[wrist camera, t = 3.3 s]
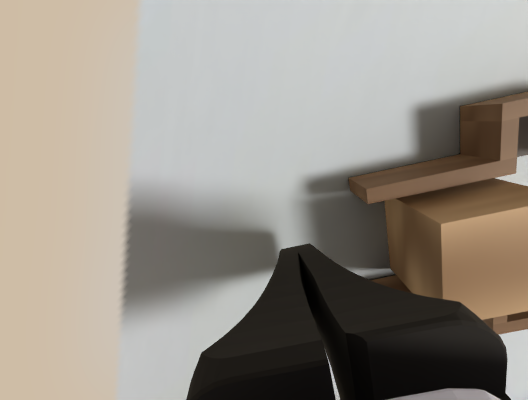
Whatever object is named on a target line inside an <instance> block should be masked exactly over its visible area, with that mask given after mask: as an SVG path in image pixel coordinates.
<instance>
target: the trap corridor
mask: <svg viewBox="0 0 528 400" xmlns="http://www.w3.org/2000/svg"><path fill="white" fill-rule="evenodd" d="M524 155H528V92H523V93H519V94H514V95H510V96H505V97H501V98H496V99H491V100H487V101H482V102H478V103H473V104H469V105H464V106H460V154H458V155H453V156H449V157H444V158H439V159H435V160H430V161H425V162H421V163H416V164H411V165H407V166H402V167H397V168H392V169H388V170H383V171H378V172H374V173H369V174H364V175H360V176H355V177H350V178H349V186H350V191H351V192H352V193H354V194H355V195H356V196H358V197H359V198H360V199H362V200H363V201H364V202H366V203H367V204H371V203H376V202H381V201H386V200H390V199H395V198H400V197H405V196H410V195H414V194H419V193H424V192H429V191H434V190H438V189H443V188H448V187H453V186H457V185H462V184H467V183H472V182H477V181H481V180H486V179H491V178H496V177H500V176H505V175H510V174H515V173H516V165H517V157H519V156H524ZM370 281H373V282H376V283H378V284H381V285H384V286H387V287H390V288H394V289H397V290H401V291H404V292H409V293H412V292H411V291H410V290H409V289H408V287H407V286H406V285H405V284H404V283H403V282H402V281H401V280H400V279H399V277H398V276H397V275H394V276H389V277H384V278H379V279H374V280H370ZM482 321H484V322H485V323H486V324H487V325H488V326H489V327H490V328H491V329H492V330H493V331H494V332H496V333H497V334H503V333H509V332H514V331H519V330H525V329H528V311H526V312H520V313H515V314H510V315H505V316H500V317H494V318H489V319H484V320H482Z"/></svg>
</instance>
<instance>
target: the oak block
mask: <svg viewBox="0 0 528 400" xmlns="http://www.w3.org/2000/svg"><path fill="white" fill-rule="evenodd" d="M385 212H386V224H387V236H388V247H389V259H390V269H391V270H392V271H393V272H394V273H395V274H396V275H397V276H398V277H399V279H400V280H401V281H402V282H403V283H404V284H405V285H406V286H407V287H408V289H409V290H410V291H411V292H412V293H413V294H417V295H422V296H427V297H433V298H439V299H446V300H452V301H458V302H461V303H462V304H463V305H465V306H466V307H467V308H468V309H470V310H471V311H472V312H473V313H475V314H476V315H477V316H478V317H479V318H480V319H481V320H484V319H489V318H494V317H500V316H505V315H510V314H515V313H520V312H526V311H528V186H523V185H519V184H515V183H511V182H507V181H503V180H499V179H495V178H491V179H486V180H481V181H477V182H472V183H467V184H462V185H457V186H453V187H448V188H443V189H438V190H434V191H429V192H424V193H419V194H414V195H410V196H405V197H400V198H395V199H390V200H386V201H385Z"/></svg>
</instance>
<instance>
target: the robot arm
mask: <svg viewBox="0 0 528 400" xmlns="http://www.w3.org/2000/svg"><path fill="white" fill-rule="evenodd" d="M325 350H326V352H325ZM326 353H327V355H326ZM327 356H328V358H327ZM328 359H329V362H330V365H331V368H332V371H333V375H334V378H335V382H336V385H337V389H338V392H339V396H340V400H511V399H510V398H509V397H508V396H507V394H506V393H505V389H506V373H507V353H506V347H505V345H504V343H503V341H502V339H501V337H500V336H499V335H498V334H497V333H496V332H494V331H493V330H492V329H491V328H490V327H489V326H488V325H487V324H486V323H485V322H484V321H482V320H481V319H480V318H479V317H478V316H477V315H476V314H475V313H473V312H472V311H471V310H470V309H468V308H467V307H466V306H465V305H463V304H462V303H461V302H458V301H452V300H446V299H439V298H433V297H427V296H422V295H417V294H413V293H409V292H404V291H401V290H397V289H394V288H390V287H387V286H384V285H381V284H378V283H376V282H373V281H370V280H368V279H366V278H363V277H361V276H359V275H357V274H355V273H353V272H351V271H349V270H347V269H345V268H343V267H342V266H340V265H338V264H337V263H335V262H334V261H332V260H331V259H329V258H328V257H327V256H325V255H324V254H323V253H321V252H320V251H319V250H317V249H316V248H315V247H314V246H313V245H311V244H305V245H300V246H295V247H290V248H286V249H282V250H281V251H280V253H279V258H278V262H277V265H276V267H275V270H274V272H273V275H272V277H271V279H270V281H269V283H268V285H267V287H266V288H265V290H264V292H263V293H262V295H261V297H260V298H259V299H258V301H257V302H256V304H255V305H254V306H253V307H252V309H251V310H250V311H249V312H248V313H247V315H246V316H245V317H244V318H243V319H242V320H241V321H240V322H239V323H238V324H237V325H236V326H235V327H234V328H232V329H231V330H230V331H229V332H228V333H227V334H226V335H224V336H223V337H222V338H221V339H219V340H218V341H217V342H215V343H214V344H213V345H211V346H210V347H209V348H207V349H206V350H205V351H203V352H202V353H201V355H200V358H199V361H198V364H197V366H196V368H195V371H194V374H193V377H192V380H191V383H190V387H189V391H188V395H187V399H186V400H335V394H334V389H333V384H332V378H331V373H330V367H329V363H328Z"/></svg>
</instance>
